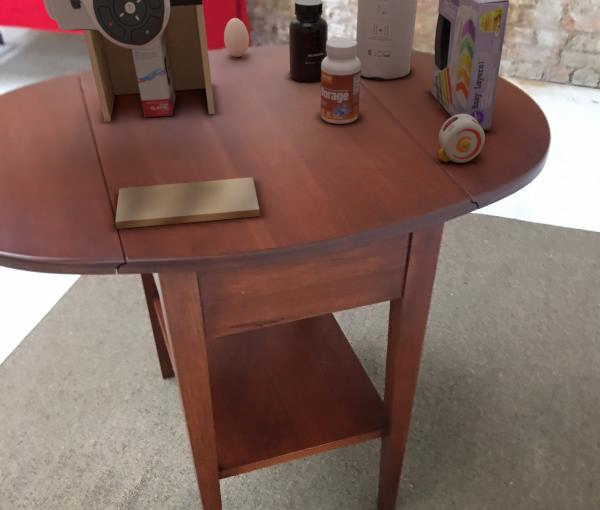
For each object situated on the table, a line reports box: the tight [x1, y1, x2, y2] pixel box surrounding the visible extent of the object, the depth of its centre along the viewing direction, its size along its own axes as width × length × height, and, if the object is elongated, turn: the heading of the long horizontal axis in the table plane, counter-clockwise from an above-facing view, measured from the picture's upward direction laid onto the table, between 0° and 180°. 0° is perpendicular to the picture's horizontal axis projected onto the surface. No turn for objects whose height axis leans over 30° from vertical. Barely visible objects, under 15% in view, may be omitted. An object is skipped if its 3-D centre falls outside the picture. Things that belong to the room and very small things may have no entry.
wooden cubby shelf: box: [82, 0, 216, 123], centre depth 102 cm, size 18×13×18 cm
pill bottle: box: [320, 37, 362, 125], centre depth 99 cm, size 6×6×11 cm
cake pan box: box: [430, 0, 510, 132], centre depth 98 cm, size 19×5×18 cm, turn 7°
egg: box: [223, 17, 250, 58], centre depth 123 cm, size 5×5×7 cm
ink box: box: [132, 29, 177, 118], centre depth 103 cm, size 9×5×12 cm, turn 4°
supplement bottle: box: [288, 0, 329, 83], centre depth 112 cm, size 7×7×12 cm
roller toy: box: [438, 114, 486, 164], centre depth 89 cm, size 4×6×6 cm
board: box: [114, 176, 261, 230], centre depth 83 cm, size 18×9×1 cm, turn 98°
